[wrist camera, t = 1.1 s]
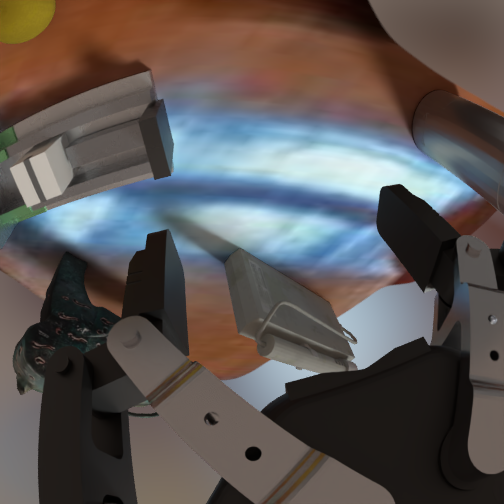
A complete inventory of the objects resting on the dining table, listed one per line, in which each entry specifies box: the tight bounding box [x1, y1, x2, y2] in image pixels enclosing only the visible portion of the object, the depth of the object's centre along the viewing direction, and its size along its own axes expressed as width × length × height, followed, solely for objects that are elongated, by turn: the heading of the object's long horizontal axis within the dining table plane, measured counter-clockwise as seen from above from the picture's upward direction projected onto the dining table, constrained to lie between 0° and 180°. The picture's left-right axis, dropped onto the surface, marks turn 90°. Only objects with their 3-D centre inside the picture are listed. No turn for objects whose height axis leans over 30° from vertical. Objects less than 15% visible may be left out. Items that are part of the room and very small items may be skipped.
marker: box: [10, 133, 78, 208], centre depth 21 cm, size 4×4×5 cm
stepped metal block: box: [65, 99, 174, 180], centre depth 21 cm, size 9×4×7 cm, turn 97°
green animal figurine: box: [13, 252, 159, 418], centre depth 29 cm, size 20×6×20 cm, turn 44°
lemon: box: [0, 0, 56, 44], centre depth 12 cm, size 6×6×8 cm
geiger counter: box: [224, 248, 358, 373], centre depth 38 cm, size 14×6×25 cm
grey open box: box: [0, 70, 174, 249], centre depth 22 cm, size 20×10×6 cm, turn 97°
